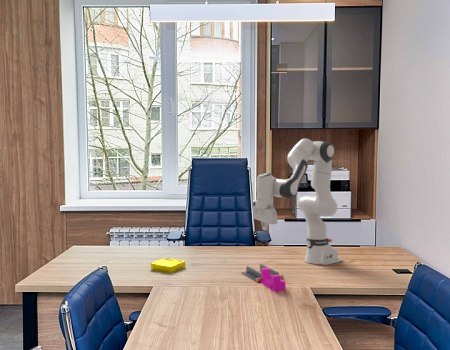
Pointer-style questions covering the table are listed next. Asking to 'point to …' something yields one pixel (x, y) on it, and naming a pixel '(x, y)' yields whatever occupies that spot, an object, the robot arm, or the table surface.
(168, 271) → the yellow flat square slab
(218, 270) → the table surface
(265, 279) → the toy block
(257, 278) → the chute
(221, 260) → the table surface
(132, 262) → the table surface
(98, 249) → the table surface
